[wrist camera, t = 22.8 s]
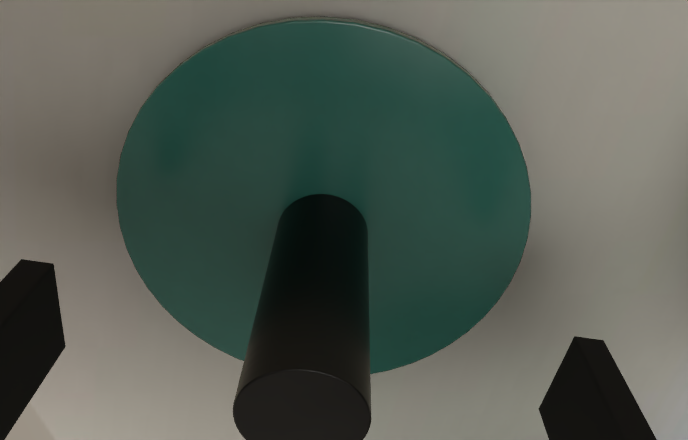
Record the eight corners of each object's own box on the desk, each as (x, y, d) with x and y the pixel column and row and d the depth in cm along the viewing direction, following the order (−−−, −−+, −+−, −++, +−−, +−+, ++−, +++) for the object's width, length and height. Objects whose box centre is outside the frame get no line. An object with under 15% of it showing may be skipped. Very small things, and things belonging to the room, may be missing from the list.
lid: (136, 334, 22) (26, 552, 15) (116, -26, 15) (-108, 55, 8) (463, 377, 23) (510, 604, 16) (585, 53, 16) (771, 191, 9)
